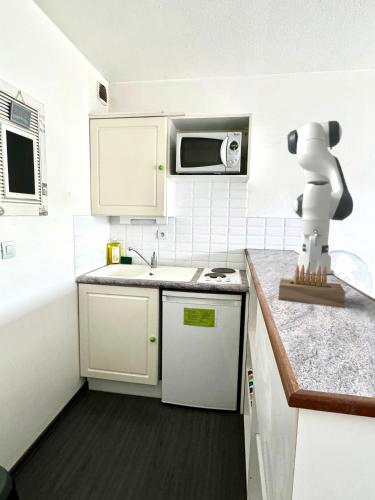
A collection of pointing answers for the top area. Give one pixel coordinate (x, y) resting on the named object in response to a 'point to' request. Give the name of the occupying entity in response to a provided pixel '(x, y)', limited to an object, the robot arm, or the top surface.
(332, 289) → the slotted wooden block
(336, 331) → the top surface
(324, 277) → the ammunition clip
